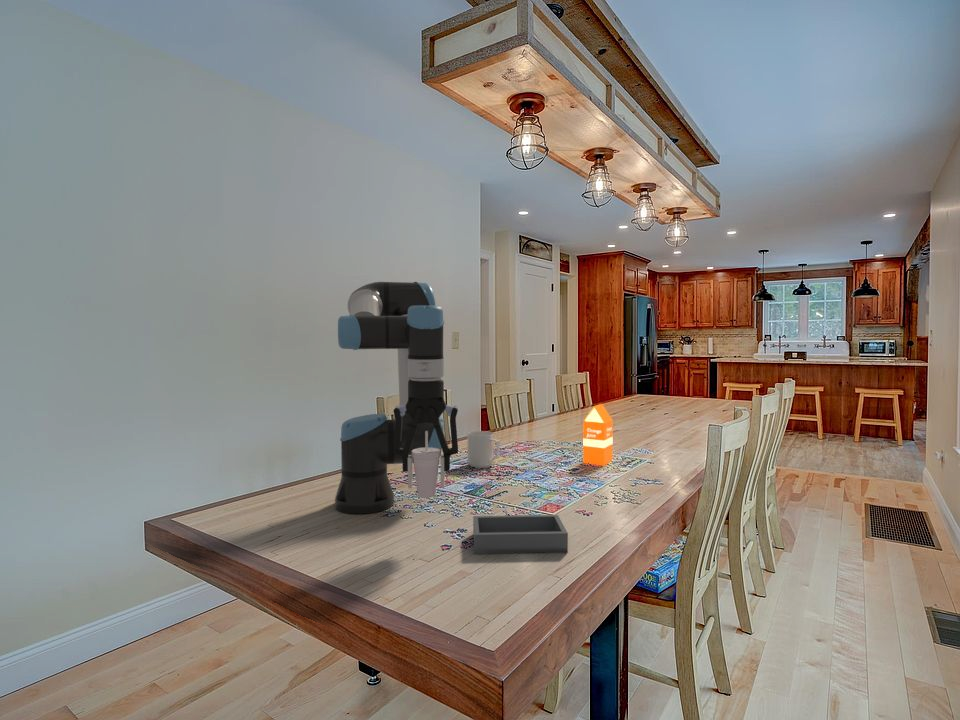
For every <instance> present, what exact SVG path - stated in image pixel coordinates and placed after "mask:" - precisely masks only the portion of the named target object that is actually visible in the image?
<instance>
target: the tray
mask: <svg viewBox="0 0 960 720" xmlns="http://www.w3.org/2000/svg"><path fill="white" fill-rule="evenodd" d="M472 517H473V521H472V523H473V528H472V531H473V549H474V551H473V552H474V555H496V554H498V555H499V554H501V555H502V554H505V555H507V554H509V555H510V554H511V555H512V554H553V553H554V554H557V553H558V554H559V553H563V554H564V553H565V552H566V554H567V553H568V549H569V548H568V546H569V545H568V543H569V542H568V541H569V535H568V533H569V532H568V531H567V529H566V528H565V526H564V524H563V522H562V520H561V518H560V516H559V515H558V514H539V515H538V514H536V515H535V514H534V515H531V514H530V515H528V514H527V515H525V514H524V515H522V514H521V515H473V516H472Z"/></svg>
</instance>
